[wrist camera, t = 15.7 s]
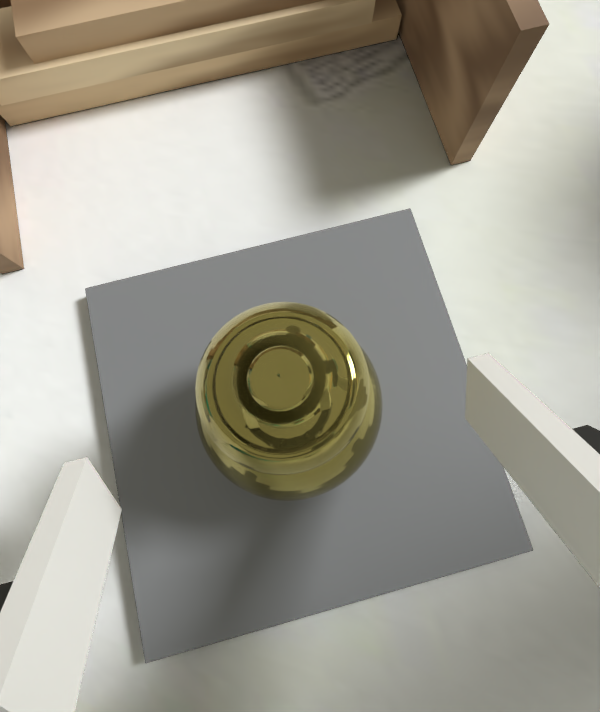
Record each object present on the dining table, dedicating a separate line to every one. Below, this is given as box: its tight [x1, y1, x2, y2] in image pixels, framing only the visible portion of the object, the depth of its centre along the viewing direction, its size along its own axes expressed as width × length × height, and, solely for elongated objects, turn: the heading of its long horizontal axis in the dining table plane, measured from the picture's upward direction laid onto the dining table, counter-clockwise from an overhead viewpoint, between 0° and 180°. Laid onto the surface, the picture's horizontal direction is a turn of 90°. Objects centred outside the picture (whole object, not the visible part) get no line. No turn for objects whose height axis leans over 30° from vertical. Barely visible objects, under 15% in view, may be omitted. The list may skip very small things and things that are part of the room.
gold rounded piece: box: [195, 302, 383, 501], centre depth 16 cm, size 7×7×10 cm
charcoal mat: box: [85, 209, 533, 663], centre depth 21 cm, size 18×18×1 cm
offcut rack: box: [0, 0, 549, 274], centre depth 21 cm, size 16×27×8 cm, turn 105°
